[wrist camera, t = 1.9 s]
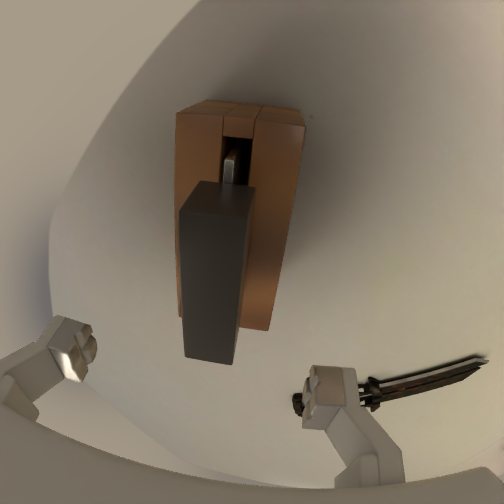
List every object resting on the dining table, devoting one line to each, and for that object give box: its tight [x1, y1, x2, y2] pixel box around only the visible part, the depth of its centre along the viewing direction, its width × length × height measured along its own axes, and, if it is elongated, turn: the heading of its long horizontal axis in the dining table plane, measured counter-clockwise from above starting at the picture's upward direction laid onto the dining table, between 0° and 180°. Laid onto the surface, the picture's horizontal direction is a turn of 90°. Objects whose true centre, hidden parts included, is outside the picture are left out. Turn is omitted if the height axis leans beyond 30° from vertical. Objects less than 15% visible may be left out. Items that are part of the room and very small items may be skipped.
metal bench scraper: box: [179, 138, 256, 365], centre depth 17 cm, size 10×2×10 cm, turn 174°
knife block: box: [174, 100, 306, 331], centre depth 19 cm, size 13×6×6 cm, turn 174°
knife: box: [292, 358, 489, 417], centre depth 32 cm, size 25×6×1 cm, turn 103°
